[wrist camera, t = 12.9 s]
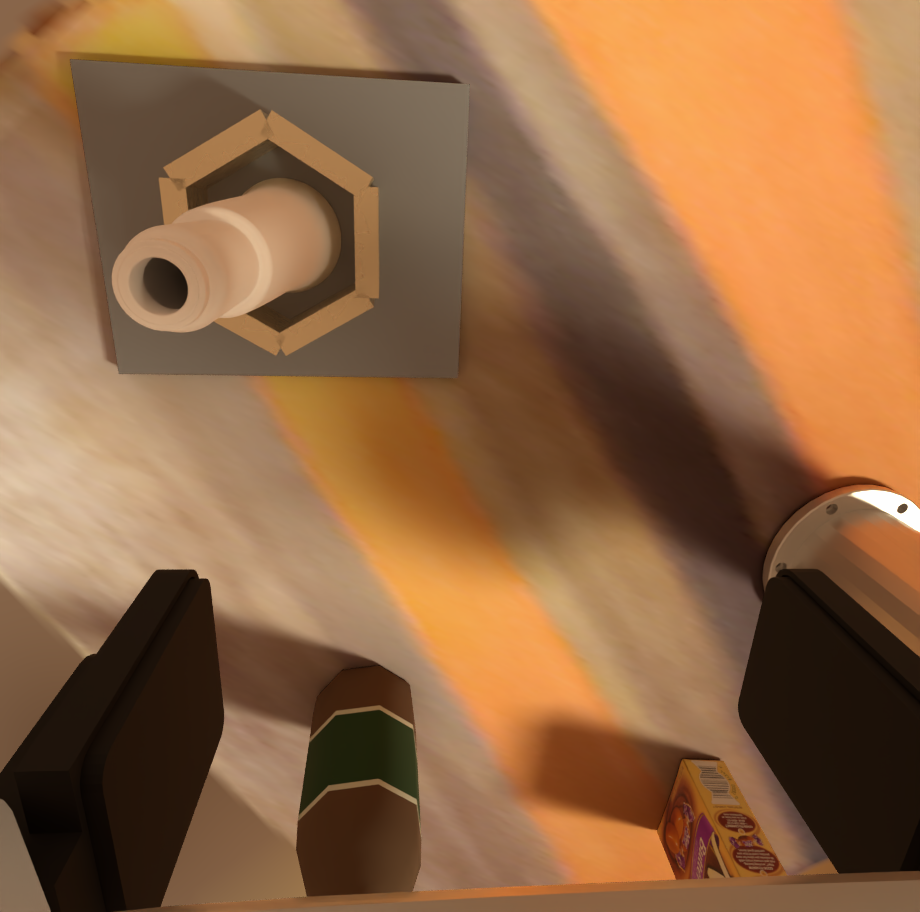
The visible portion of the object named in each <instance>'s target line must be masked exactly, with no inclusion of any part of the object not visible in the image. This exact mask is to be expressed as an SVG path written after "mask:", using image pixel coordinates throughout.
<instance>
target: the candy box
mask: <svg viewBox="0 0 920 912" xmlns="http://www.w3.org/2000/svg"><path fill="white" fill-rule="evenodd" d="M657 833H658V835H659V838H660V840H661V843H662V845H663V847H664V850H665V852H666V855H667V857H668V860H669V862H670V865H671V867H672V870H673V872H674V875H675V878H676V880H684V879H708V878H733V877H760V876H787V874H786V872H785V870H784V868H783V867H782V865H781V863H780V861H779V860H778V858H777V856H776V854H775V852H774V851H773V849H772V847H771V845H770V843H769V841H768V839H767V838H766V836H765V834H764V832H763V830H762V829H761V827H760V825H759V824H758V822H757V820H756V818H755V816H754V814H753V813H752V811H751V809H750V807H749V806H748V804H747V802H746V800H745V798H744V796H743V795H742V793H741V791H740V790H739V788H738V786H737V784H736V782H735V781H734V779H733V777H732V775H731V773H730V772H729V770H728V768H727V766H726V764H725V763H724V761H717V760H696V759H694V760H691V759H682V761H681V764H680V767H679V771H678V774H677V777H676V780H675V783H674V786H673V789H672V792H671V795H670V797H669V800H668V803H667V806H666V809H665V811H664V815H663V817H662V820H661V823H660V825H659V828H658V830H657Z"/></svg>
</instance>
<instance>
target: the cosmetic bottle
mask: <svg viewBox="0 0 920 912" xmlns="http://www.w3.org/2000/svg"><path fill="white" fill-rule="evenodd" d="M340 250H341V231H340V226H339V222H338V219H337V217H336V214H335V213H334V211H333V209H332V207H331V206H330V204H329V203H328V202H327V200H326V199H325V198H324V197H323V196H322V195H321V194H320V193H319V192H318V191H316V190H315V189H314V188H312V187H310V186H309V185H307V184H305V183H303V182H300V181H297V180H294V179H288V178H272V179H267V180H264V181H261V182H259V183H257V184H255V185H253V186H252V187H250V188H249V189H248V190H247V191H246V192H245V193H244V194H243V195H242V196H239V197H234V198H229V199H225V200H220V201H216V202H212V203H209V204H205V205H202V206H199V207H196V208H194V209H191V210H188V211H186V212H185V213H183V214H181V215H180V216H179V217H178V218H176V219H175V220H174V221H173V223H172V224H167V225H160V226H154V227H151V228H148V229H146V230H144V231H142V232H140V233H139V234H137V235H136V236H135V237H134V238H133V239H132V240H130V242H129V243H128V244H127V245H126V247H125V249H124V250H123V251H122V252H121V253H120V254H119V256H118V258H117V259H116V261H115V263H114V266H113V270H112V287H113V291H114V294H115V297H116V299H117V301H118V303H119V304H120V306H121V308H122V309H123V310H124V311H125V312H126V314H127V315H129V316H130V317H131V318H132V319H133V320H134V321H136V322H137V323H139V324H141V325H143V326H145V327H147V328H150V329H153V330H158V331H171V332H179V333H182V332H191V331H196V330H199V329H202V328H204V327H206V326H208V325H209V324H211V323H212V322H213V321H215V320H216V319H218V318H232V317H237V316H240V315H243V314H246V313H248V312H250V311H252V310H254V309H257V308H259V307H261V306H263V305H264V304H266V303H268V302H270V301H272V300H274V299H275V298H277V297H279V296H281V295H282V294H284V293H295V292H302V291H306V290H308V289H311V288H313V287H315V286H317V285H318V284H320V283H321V282H323V281H324V280H325V279H326V278H327V277H328V276H329V274H330V273H331V272H332V270H333V269H334V267H335V265H336V263H337V261H338V258H339V255H340Z"/></svg>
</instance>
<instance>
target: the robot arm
mask: <svg viewBox="0 0 920 912" xmlns="http://www.w3.org/2000/svg"><path fill="white" fill-rule="evenodd" d="M762 579H763V587H764V592H765V593H764V597H763V601H762V605H761V609H760V614H759V618H758V622H757V626H756V630H755V635H754V639H753V643H752V647H751V651H750V655H749V660H748V664H747V668H746V672H745V676H744V681H743V685H742V689H741V693H740V697H739V702H738V712H739V717H740V720H741V723H742V725H743V726H744V728H745V730H746V731H747V733H748V734H749V736H750V737H751V739H752V740H753V742H754V743H755V745H756V747H757V748H758V750H759V751H760V753H761V754H762V756H763V757H764V759H765V760H766V762H767V764H768V765H769V767H770V768H771V770H772V771H773V773H774V774H775V776H776V777H777V779H778V781H779V782H780V784H781V785H782V787H783V788H784V790H785V791H786V793H787V794H788V796H789V798H790V799H791V801H792V802H793V804H794V805H795V807H796V808H797V810H798V811H799V813H800V815H801V816H802V818H803V819H804V821H805V822H806V824H807V825H808V827H809V828H810V830H811V832H812V833H813V835H814V836H815V838H816V839H817V841H818V842H819V844H820V845H821V847H822V848H823V850H824V852H825V853H826V855H827V856H828V858H829V859H830V861H831V862H832V864H833V865H834V867H835V869H836V870H837V872H838V873H839V874H816V875H788V876H760V877H733V878H708V879H684V880H659V881H635V882H611V883H588V884H565V885H542V886H519V887H497V888H477V889H456V890H435V891H415V892H394V893H374V894H353V895H333V896H312V897H297V898H281V899H266V900H252V901H236V902H220V903H205V904H191V905H176V906H166V907H160V906H161V904H162V901H163V898H164V895H165V892H166V890H167V887H168V884H169V881H170V878H171V876H172V873H173V870H174V867H175V864H176V862H177V859H178V856H179V853H180V850H181V848H182V845H183V842H184V839H185V836H186V833H187V831H188V828H189V825H190V822H191V820H192V816H193V814H194V811H195V808H196V806H197V802H198V800H199V797H200V794H201V792H202V788H203V786H204V783H205V780H206V778H207V775H208V772H209V769H210V766H211V764H212V761H213V758H214V755H215V752H216V750H217V747H218V744H219V741H220V738H221V735H222V731H223V724H224V708H223V698H222V689H221V680H220V671H219V661H218V652H217V643H216V633H215V624H214V615H213V606H212V596H211V587H210V583H209V580H208V579H199V577H198V574H197V572H196V571H195V570H156V571H155V572H154V573H153V574H152V576H151V577H150V579H149V580H148V582H147V583H146V584H145V586H144V587H143V589H142V590H141V591H140V593H139V594H138V596H137V597H136V599H135V600H134V601H133V603H132V604H131V606H130V607H129V609H128V610H127V611H126V613H125V614H124V616H123V617H122V618H121V620H120V621H119V623H118V624H117V626H116V627H115V628H114V630H113V631H112V633H111V634H110V636H109V637H108V638H107V640H106V641H105V643H104V644H103V645H102V647H101V648H100V650H99V651H98V653H97V654H92V655H89V656H87V657H86V658H85V659H84V660H83V661H82V662H81V663H80V664H79V666H78V667H77V668H76V670H75V671H74V672H73V674H72V675H71V676H70V678H69V679H68V681H67V682H66V683H65V685H64V686H63V688H62V689H61V690H60V692H59V693H58V695H57V696H56V697H55V699H54V700H53V701H52V703H51V704H50V705H49V707H48V708H47V710H46V711H45V712H44V714H43V715H42V716H41V718H40V719H39V721H38V722H37V723H36V725H35V726H34V727H33V729H32V730H31V732H30V733H29V735H28V736H27V737H26V738H25V740H24V741H23V743H22V744H21V745H20V747H19V748H18V749H17V751H16V752H15V754H14V755H13V757H12V758H11V759H10V761H9V762H8V763H7V765H6V766H5V767H4V769H3V771H2V772H1V773H0V912H920V509H919V508H918V507H917V506H916V505H915V504H914V503H913V502H912V501H911V500H909V499H908V498H906V497H904V496H903V495H901V494H900V493H898V492H896V491H893V490H891V489H889V488H887V487H882V486H877V485H853V486H847V487H842V488H839V489H836V490H833V491H830V492H828V493H825V494H823V495H821V496H819V497H818V498H816V499H814V500H812V501H810V502H809V503H807V504H806V505H805V506H803V507H802V508H801V509H799V510H798V511H797V512H796V513H795V514H794V515H793V516H792V517H791V518H790V519H789V520H788V521H787V522H786V523H785V524H784V525H783V526H782V528H781V529H780V531H779V532H778V533H777V535H776V536H775V538H774V540H773V542H772V544H771V546H770V548H769V550H768V552H767V555H766V559H765V562H764V566H763V578H762Z"/></svg>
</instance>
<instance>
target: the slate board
mask: <svg viewBox="0 0 920 912" xmlns="http://www.w3.org/2000/svg"><path fill="white" fill-rule="evenodd" d="M70 63H71V70H72V76H73V83H74V89H75V96H76V102H77V108H78V115H79V121H80V128H81V134H82V140H83V147H84V153H85V160H86V166H87V173H88V179H89V185H90V192H91V198H92V205H93V211H94V217H95V224H96V230H97V237H98V243H99V250H100V256H101V262H102V269H103V275H104V282H105V288H106V294H107V301H108V307H109V314H110V320H111V327H112V333H113V339H114V346H115V352H116V359H117V365H118V371H119V374H167V375H247V376H327V377H406V378H458V367H459V342H460V317H461V292H462V267H463V242H464V217H465V192H466V167H467V142H468V117H469V92H470V84H457V83H441V82H425V81H409V80H393V79H377V78H362V77H346V76H330V75H314V74H298V73H282V72H266V71H250V70H234V69H218V68H202V67H187V66H171V65H155V64H139V63H123V62H107V61H91V60H75V59H70ZM258 110H262V111H263V112H265V113H266V114H268V115H269V114H270V112H271V110H272V111H274V112H275V113H277V114H278V115H280V116H281V117H283V118H284V119H286V120H287V121H289V122H290V123H292V124H294V125H295V126H297V127H298V128H300V129H301V130H303V131H304V132H306V133H307V134H309V135H310V136H312V137H313V138H315V139H316V140H318V141H319V142H321V143H322V144H324V145H325V146H327V147H328V148H330V149H331V150H333V151H334V152H336V153H337V154H339V155H340V156H342V157H343V158H345V159H346V160H348V161H349V162H351V163H352V164H354V165H355V166H357V167H358V168H360V169H361V170H363V171H364V172H366V173H367V174H369V175H370V176H372V177H373V178H374V181H373V182H372V184H371V186H370V187H378V188H379V262H380V290H379V298H375V302H374V307H373V308H371V309H369V310H367V311H366V312H364V313H362V314H360V315H359V316H357V317H355V318H353V319H351V320H350V321H348V322H346V323H344V324H342V325H341V326H339V327H337V328H335V329H333V330H332V331H330V332H328V333H326V334H325V335H323V336H321V337H319V338H317V339H316V340H314V341H312V342H310V343H308V344H307V345H305V346H303V347H301V348H299V349H298V350H296V351H294V352H292V353H291V354H289V355H287V356H286V355H285V354H284V352H283V351H282V349H280V351H279V352H278V354H277V355H276V356H275V355H274V354H272V353H270V352H268V351H266V350H265V349H263V348H261V347H259V346H257V345H255V344H254V343H252V342H250V341H248V340H246V339H245V338H243V337H241V336H239V335H237V334H236V333H234V332H232V331H230V330H228V329H226V328H225V327H223V326H221V325H219V324H217V323H216V322H214V321H213V322H212V323H211V324H209V325H208V326H206V327H204V328H202V329H199V330H196V331H191V332H182V333H179V332H171V331H158V330H153V329H150V328H147V327H145V326H143V325H141V324H139V323H137V322H136V321H134V320H133V319H132V318H131V317H130V316H129V315H127V314H126V312H125V311H124V310H123V309H122V308H121V306H120V304H119V303H118V301H117V299H116V297H115V294H114V291H113V287H112V270H113V266H114V263H115V261H116V259H117V258H118V256H119V254H120V253H121V252H122V251H123V250H124V249H125V247H126V245H127V244H128V243H129V242H130V240H132V239H133V238H134V237H135V236H136V235H137V234H139V233H140V232H142V231H144V230H146V229H148V228H151V227H154V226H160V225H164V219H163V211H162V202H161V194H160V185H159V178H170V177H169V176H168V174H167V173H166V171H165V170H164V168H163V167H165V166H166V165H168V164H170V163H171V162H173V161H175V160H176V159H178V158H180V157H181V156H183V155H185V154H186V153H188V152H190V151H191V150H193V149H195V148H196V147H198V146H200V145H201V144H203V143H205V142H206V141H208V140H210V139H211V138H213V137H215V136H216V135H218V134H220V133H221V132H223V131H225V130H226V129H228V128H230V127H231V126H233V125H235V124H236V123H238V122H240V121H241V120H243V119H245V118H246V117H248V116H250V115H251V114H253V113H255V112H256V111H258ZM272 178H288V179H294V180H297V181H300V182H303V183H305V184H307V185H309V186H310V187H312V188H314V189H315V190H316V191H318V192H319V193H320V194H321V195H322V196H323V197H324V198H325V199H326V200H327V202H328V203H329V204H330V206H331V207H332V209H333V211H334V213H335V214H336V217H337V219H338V222H339V226H340V231H341V250H340V255H339V258H338V261H337V263H336V265H335V267H334V269H333V270H332V272H331V273H330V274H329V276H328V277H327V278H326V279H325V280H324V281H323V282H321V283H320V284H318V285H317V286H315V287H313V288H311V289H308V290H306V291H302V292H295V293H284V294H282V295H281V296H279V297H277V298H275V299H274V300H272V301H270V302H268V303H266V304H264V305H265V306H267V307H269V308H271V309H272V310H274V311H276V312H278V313H279V314H281V315H283V316H285V317H286V318H288V319H292V318H294V317H296V316H297V315H299V314H301V313H303V312H304V311H306V310H308V309H310V308H312V307H313V306H315V305H317V304H319V303H320V302H322V301H324V300H326V299H328V298H329V297H331V296H333V295H335V294H336V293H338V292H340V291H342V290H343V289H345V288H347V287H349V286H351V285H352V284H354V283H355V235H354V195H353V194H352V193H350V192H349V191H347V190H346V189H344V188H343V187H341V186H339V185H338V184H336V183H335V182H333V181H332V180H330V179H329V178H327V177H326V176H324V175H323V174H321V173H319V172H318V171H316V170H315V169H313V168H312V167H310V166H309V165H307V164H306V163H304V162H303V161H301V160H299V159H298V158H296V157H295V156H293V155H292V154H290V153H289V152H287V151H286V150H284V149H283V148H281V147H279V146H278V147H276V148H275V149H273V150H271V151H270V152H268V153H266V154H264V155H263V156H261V157H259V158H258V159H256V160H254V161H253V162H251V163H249V164H248V165H246V166H244V167H243V168H241V169H239V170H237V171H236V172H234V173H232V174H231V175H229V176H227V177H226V178H224V179H222V180H221V181H219V182H217V183H216V184H214V185H212V186H210V187H209V188H207V194H208V204H209V203H212V202H216V201H220V200H225V199H229V198H234V197H239V196H242V195H243V194H244V193H245V192H246V191H247V190H248V189H249V188H250V187H252V186H253V185H255V184H257V183H259V182H261V181H264V180H267V179H272Z"/></svg>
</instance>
